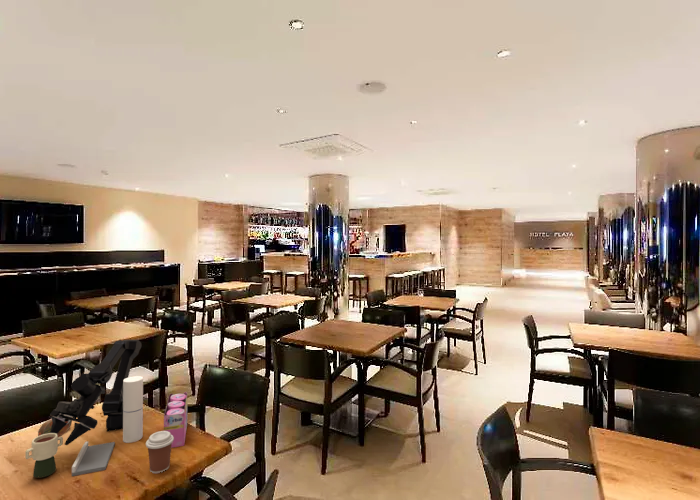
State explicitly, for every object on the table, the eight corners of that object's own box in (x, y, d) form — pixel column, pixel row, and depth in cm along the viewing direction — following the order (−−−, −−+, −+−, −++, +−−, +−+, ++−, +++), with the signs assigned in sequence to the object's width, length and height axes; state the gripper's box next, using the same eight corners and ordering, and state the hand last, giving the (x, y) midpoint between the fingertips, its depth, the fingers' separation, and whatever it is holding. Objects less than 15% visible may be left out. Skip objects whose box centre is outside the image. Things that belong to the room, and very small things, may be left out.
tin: (43, 447, 147) (43, 426, 147) (36, 446, 147) (36, 425, 147) (72, 428, 162) (72, 409, 162) (65, 428, 162) (65, 409, 162)
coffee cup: (139, 472, 132) (139, 439, 132) (160, 458, 141) (160, 427, 140) (158, 478, 129) (159, 444, 129) (179, 463, 137) (179, 431, 137)
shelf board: (114, 444, 150) (114, 436, 150) (105, 469, 133) (105, 461, 133) (84, 449, 146) (84, 441, 146) (70, 476, 129) (70, 467, 129)
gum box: (169, 422, 169) (169, 392, 169) (187, 419, 172) (188, 390, 172) (162, 449, 147) (163, 415, 147) (184, 445, 150) (184, 412, 150)
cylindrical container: (124, 444, 150) (125, 383, 149) (121, 437, 155) (121, 378, 155) (144, 438, 154) (144, 379, 154) (140, 432, 160) (140, 374, 159)
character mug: (57, 463, 137) (57, 428, 136) (67, 469, 133) (67, 433, 133) (20, 479, 127) (20, 442, 127) (30, 486, 124) (30, 448, 123)
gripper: (54, 387, 142) (21, 429, 131) (89, 395, 135) (57, 439, 125) (76, 399, 149) (46, 440, 139) (109, 407, 143) (81, 450, 133)
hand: (56, 442), depth 134 cm, fingers open, 9 cm apart
